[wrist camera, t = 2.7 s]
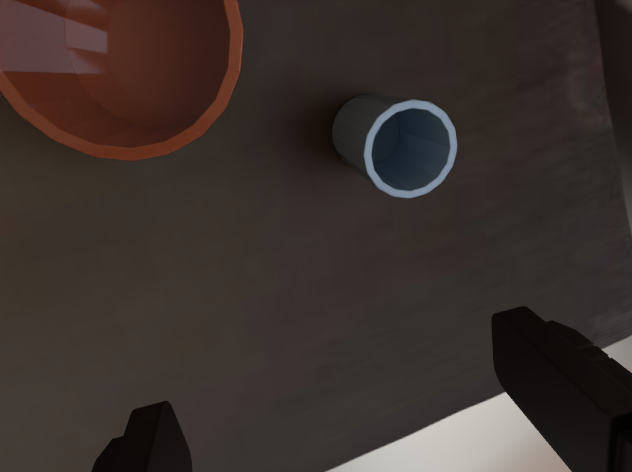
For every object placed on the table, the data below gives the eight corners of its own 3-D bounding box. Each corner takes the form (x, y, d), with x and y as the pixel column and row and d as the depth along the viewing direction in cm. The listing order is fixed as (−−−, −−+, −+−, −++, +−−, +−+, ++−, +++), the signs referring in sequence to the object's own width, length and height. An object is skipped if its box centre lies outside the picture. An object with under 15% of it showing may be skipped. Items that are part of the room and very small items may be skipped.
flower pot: (234, 144, 35) (232, 172, 25) (61, 123, 32) (-20, 145, 22) (249, -35, 31) (254, -90, 21) (53, -74, 28) (-51, -160, 18)
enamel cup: (394, 171, 38) (444, 202, 29) (326, 164, 37) (356, 193, 27) (408, 99, 36) (467, 107, 27) (338, 89, 35) (373, 93, 25)
